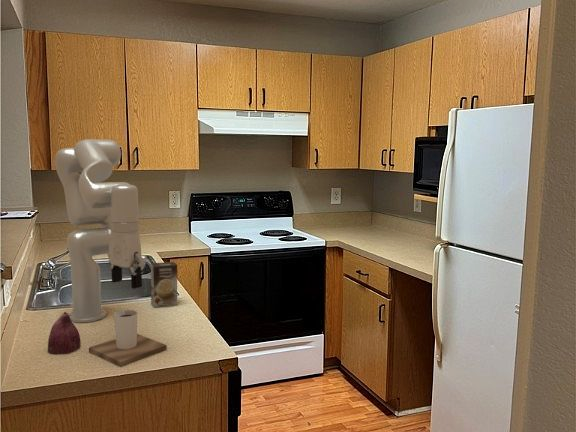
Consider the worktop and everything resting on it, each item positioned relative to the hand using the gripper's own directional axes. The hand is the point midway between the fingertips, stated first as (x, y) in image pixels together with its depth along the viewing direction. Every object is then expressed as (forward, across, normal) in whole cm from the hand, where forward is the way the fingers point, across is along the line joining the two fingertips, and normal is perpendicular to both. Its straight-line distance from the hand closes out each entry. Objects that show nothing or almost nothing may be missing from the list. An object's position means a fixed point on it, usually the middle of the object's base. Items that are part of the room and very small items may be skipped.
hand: (126, 284), depth 152 cm
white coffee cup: (+19, 0, 0) cm, 19 cm away
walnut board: (+20, 0, 0) cm, 20 cm away
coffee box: (+21, -28, +35) cm, 50 cm away
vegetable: (+21, -16, -12) cm, 28 cm away
